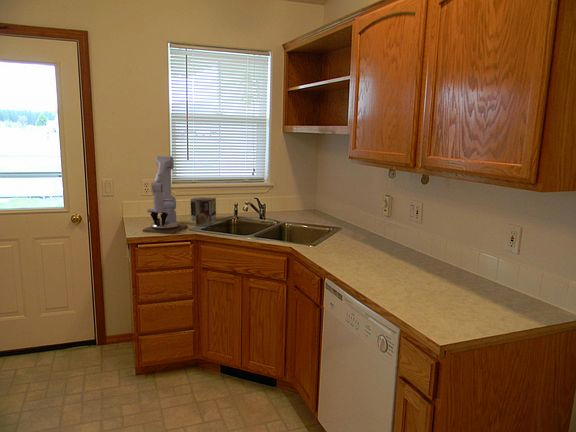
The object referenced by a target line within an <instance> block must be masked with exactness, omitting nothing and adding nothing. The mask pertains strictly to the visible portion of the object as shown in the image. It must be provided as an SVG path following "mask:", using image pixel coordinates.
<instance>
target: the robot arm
mask: <svg viewBox="0 0 576 432" xmlns="http://www.w3.org/2000/svg"><path fill="white" fill-rule="evenodd" d="M155 163H156V166H157V167H158V169H157V173H155V177H154V182H153V183H152V184H151V190H152V191H151V193H152V196H153V208H148V209H147V210H146V211H147V213H150V214H149V215H150V216H151V218H152V220H153V223H154V224H155V225H156V218H159V217H158V215H160V221H161V222H162V226H163V225H165V221H176V222H179V221H177V211H176V208H177V202H176V201H177V199H176V196H173V195H172V183H171V181H172V180H171V179H172V178H171V177H172V175H171V172H172V170H173V169H174V167H175V164H174V157H173V155H171V156H169V155H168V156H159V155H157V156H156V159H155Z"/></svg>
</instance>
